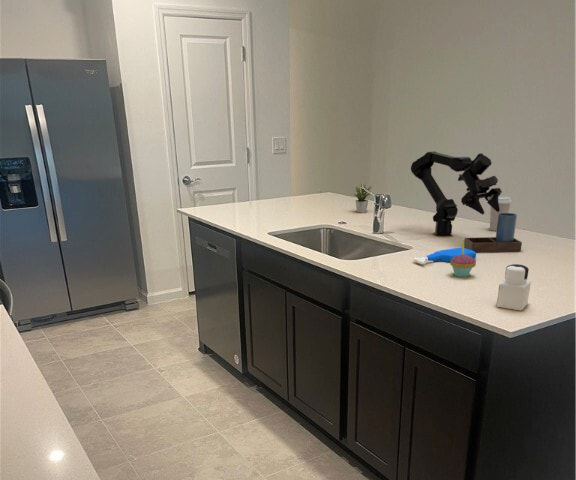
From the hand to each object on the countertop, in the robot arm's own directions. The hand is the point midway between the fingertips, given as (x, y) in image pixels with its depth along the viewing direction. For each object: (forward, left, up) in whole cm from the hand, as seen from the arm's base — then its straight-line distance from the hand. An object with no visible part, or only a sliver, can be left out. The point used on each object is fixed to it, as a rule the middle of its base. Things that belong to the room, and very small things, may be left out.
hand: (491, 212), depth 225 cm
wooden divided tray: (-1, -7, -14) cm, 15 cm away
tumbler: (+4, -7, -13) cm, 15 cm away
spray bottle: (-25, -23, -14) cm, 37 cm away
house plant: (-41, +84, -14) cm, 94 cm away
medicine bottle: (-19, -75, -14) cm, 79 cm away
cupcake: (-24, -43, -14) cm, 51 cm away
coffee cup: (+15, +30, -14) cm, 36 cm away
